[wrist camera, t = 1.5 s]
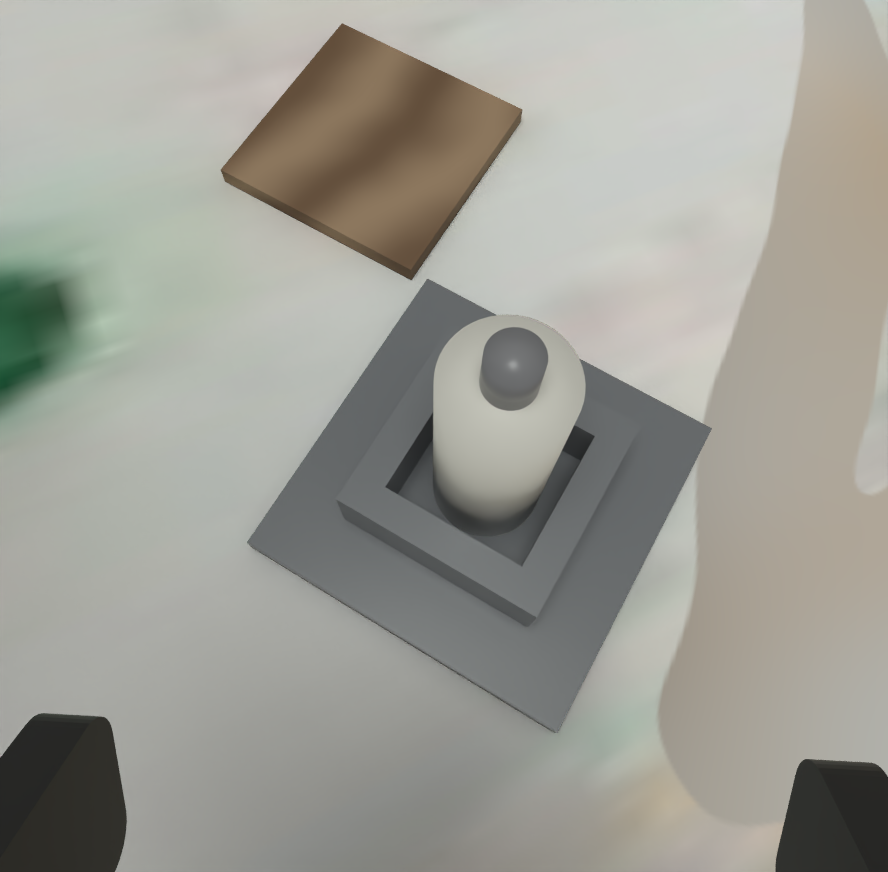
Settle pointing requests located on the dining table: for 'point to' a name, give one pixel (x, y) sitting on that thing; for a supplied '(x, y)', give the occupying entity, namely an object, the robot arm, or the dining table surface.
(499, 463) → the bottle
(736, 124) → the dining table surface
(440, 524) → the socket block
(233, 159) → the walnut board
